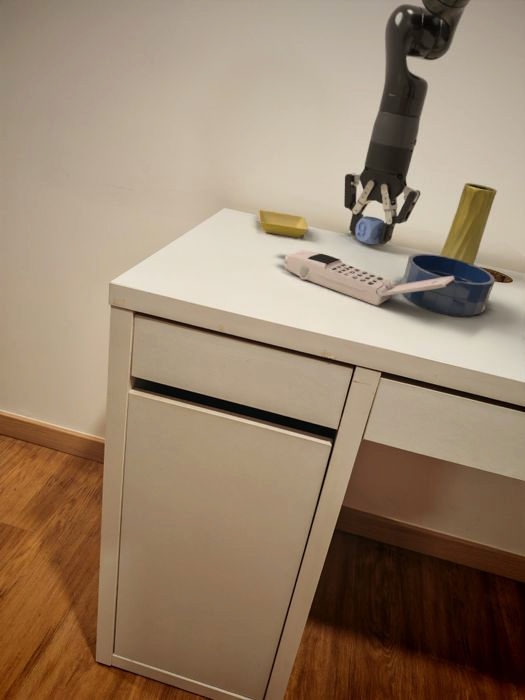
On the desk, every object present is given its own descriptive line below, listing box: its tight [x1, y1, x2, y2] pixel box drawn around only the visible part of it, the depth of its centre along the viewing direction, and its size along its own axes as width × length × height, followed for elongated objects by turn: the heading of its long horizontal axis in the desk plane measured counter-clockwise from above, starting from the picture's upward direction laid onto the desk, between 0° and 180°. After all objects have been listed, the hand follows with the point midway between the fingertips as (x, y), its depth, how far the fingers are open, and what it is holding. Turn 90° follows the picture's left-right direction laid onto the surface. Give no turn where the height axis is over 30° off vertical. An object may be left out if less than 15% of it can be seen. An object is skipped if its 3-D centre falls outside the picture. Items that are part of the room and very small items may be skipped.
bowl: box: [401, 253, 496, 317], centre depth 85 cm, size 12×12×5 cm
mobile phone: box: [283, 249, 455, 306], centre depth 82 cm, size 6×6×25 cm
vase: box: [440, 182, 498, 265], centre depth 99 cm, size 6×6×14 cm
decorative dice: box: [355, 215, 386, 245], centre depth 106 cm, size 4×4×4 cm
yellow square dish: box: [258, 209, 309, 238], centre depth 106 cm, size 9×9×2 cm
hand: (368, 238), depth 107 cm, fingers closed on decorative dice, 5 cm apart
